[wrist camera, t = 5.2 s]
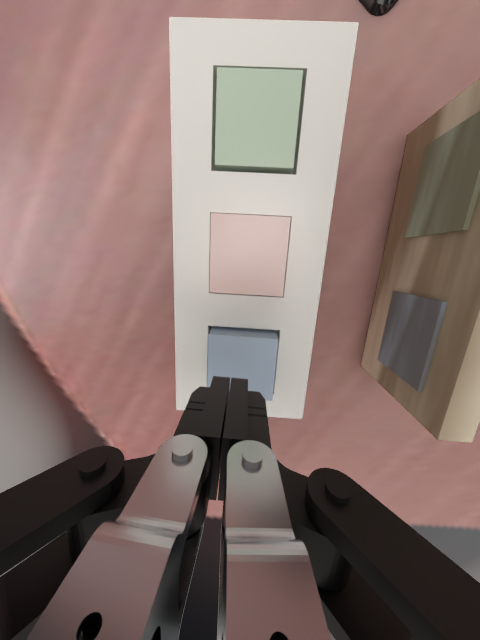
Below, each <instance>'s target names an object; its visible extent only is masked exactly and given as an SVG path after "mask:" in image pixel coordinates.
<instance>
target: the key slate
mask: <svg viewBox="0 0 480 640" xmlns="http://www.w3.org/2000/svg"><path fill="white" fill-rule="evenodd" d="M277 349H278V336H277V333H276V331H275V330H269V329H254V328H238V327H223V326H213V327H212V329H211V331H210V333H209V334H208V381H207V387H210V385H211V382H212V379H213V376H220V377H230V384H231V378H243V379H248V391H256V392H260V393H261V394H262V396H263V397H264V398H265V400H266V401H272V398H273V388H274V379H275V369H276V359H277ZM229 391H230V388H229Z"/></svg>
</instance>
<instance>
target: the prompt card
mask: <svg viewBox="0 0 480 640" xmlns="http://www.w3.org/2000/svg"><path fill="white" fill-rule="evenodd" d="M361 366H362V367H363V368H364V369H365V370H366V371H367V372H368V373H369V374H370V375H371V376H372V377H373V378H374V379H375V380H376V381H377V382H378V383H379V384H380V385H381V386H382V387H383V388H384V389H385V390H386V391H387V392H388V393H390V394H391V395H392V396H393V397H394V398H395V399H396V400H397V401H398V402H399V403H400V404H401V405H402V406H403V407H404V408H405V409H406V410H407V411H408V412H409V413H410V414H411V415H412V416H413V417H414V418H415V419H416V420H417V421H418V422H420V423H421V424H422V425H423V426H424V427H425V428H426V429H427V430H428V431H429V432H430V433H431V434H432V435H433V436H434V437H435V438H436V439H437V440H446V441H459V442H472V441H473V438H474V435H475V433H476V430H477V427H478V424H479V422H480V78H479V79H478V80H477V81H476V82H474V83H473V84H472V85H471V86H469V87H468V88H467V89H465V90H464V91H463V92H462V93H460V94H459V95H458V96H457V97H455V98H454V99H453V100H451V101H450V102H449V103H448V104H446V105H445V106H444V107H443V108H441V109H440V110H439V111H437V112H436V113H435V114H434V115H432V116H431V117H430V118H429V119H427V120H426V121H425V122H423V123H422V124H421V125H420V126H418V127H417V128H416V129H415V130H413V131H412V132H411V133H410V134H408V136H407V141H406V146H405V151H404V156H403V161H402V166H401V171H400V176H399V181H398V186H397V190H396V195H395V200H394V205H393V210H392V215H391V220H390V225H389V230H388V235H387V240H386V245H385V249H384V254H383V259H382V264H381V269H380V274H379V279H378V284H377V289H376V294H375V299H374V303H373V308H372V313H371V318H370V323H369V328H368V333H367V338H366V343H365V348H364V353H363V357H362V362H361Z"/></svg>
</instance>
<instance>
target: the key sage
mask: <svg viewBox="0 0 480 640" xmlns="http://www.w3.org/2000/svg"><path fill="white" fill-rule="evenodd" d="M302 77H303V70H286V69H256V68H226V67H217V87H216V130H215V167H216V169H217V171H228V172H250V173H272V174H291V172H292V170H293V167H294V157H295V147H296V137H297V127H298V117H299V107H300V97H301V87H302Z"/></svg>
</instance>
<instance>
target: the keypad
mask: <svg viewBox="0 0 480 640" xmlns="http://www.w3.org/2000/svg"><path fill="white" fill-rule="evenodd" d="M358 24H359V22H331V21H295V20H259V19H223V18H187V17H169V39H170V94H171V148H172V203H173V258H174V313H175V367H176V410H185V408H186V406H187V403H188V401H189V399H190V396H191V394H192V392H194V391H195V390H196V389H197V388H198V387H200V386H201V387H207V381H208V334H209V333H210V331H211V329H212V327H213V326H223V327H238V328H254V329H269V330H275V331H276V333H277V336H278V349H277V359H276V369H275V379H274V388H273V398H272V401H266V400H265V401H266V410H267V417H280V418H294V419H302V417H303V410H304V403H305V396H306V389H307V382H308V375H309V368H310V361H311V354H312V347H313V340H314V333H315V326H316V319H317V312H318V305H319V298H320V291H321V284H322V276H323V269H324V262H325V255H326V248H327V241H328V234H329V227H330V220H331V213H332V206H333V199H334V192H335V185H336V178H337V171H338V164H339V157H340V150H341V143H342V136H343V129H344V122H345V115H346V108H347V101H348V94H349V87H350V80H351V73H352V66H353V59H354V52H355V45H356V38H357V31H358ZM217 67H226V68H256V69H286V70H303V77H302V87H301V97H300V107H299V117H298V127H297V137H296V147H295V157H294V167H293V170H292V172H291V174H272V173H250V172H228V171H217V169H216V167H215V130H216V87H217ZM211 213H222V214H242V215H261V216H281V217H291V221H290V231H289V241H288V251H287V261H286V271H285V280H284V290H283V297H279V296H262V295H246V294H229V293H212V292H209V283H210V234H211Z"/></svg>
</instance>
